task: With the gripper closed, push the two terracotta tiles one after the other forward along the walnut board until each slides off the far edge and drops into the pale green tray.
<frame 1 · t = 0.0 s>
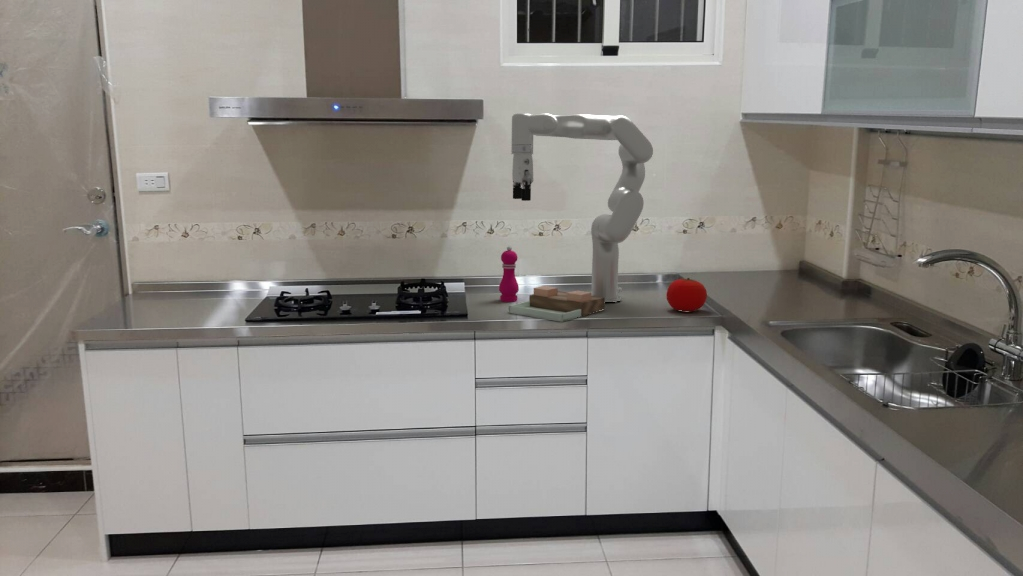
hand: (521, 199, 279), 37 cm above the worktop, tool pointing down, fingers open, 9 cm apart
board: (566, 309, 278), on the worktop
tray: (544, 314, 268), on the worktop
tile 2: (578, 300, 271), point 4 cm above the worktop, touching board
tile 1: (545, 295, 279), point 4 cm above the worktop, touching board
tomato: (685, 311, 277), on the worktop
pepper mill: (508, 301, 293), on the worktop
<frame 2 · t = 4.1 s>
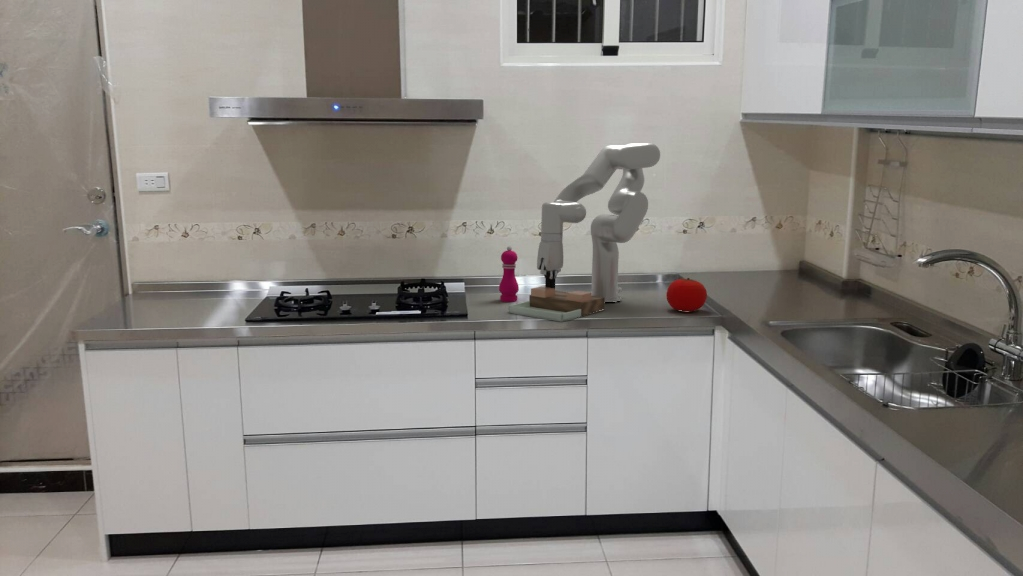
hand: (550, 289, 281), 6 cm above the worktop, tool pointing down, fingers closed
tile 1: (542, 295, 278), point 4 cm above the worktop, touching board, gripper
everything else where it was.
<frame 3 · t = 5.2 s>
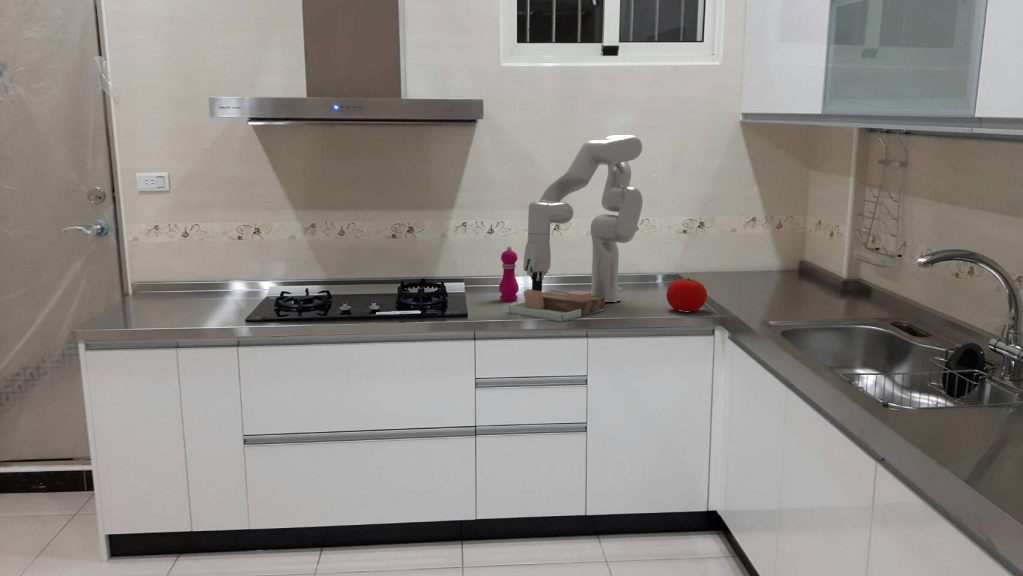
hand: (536, 291, 275), 6 cm above the worktop, tool pointing down, fingers closed
tile 1: (536, 297, 275), point 4 cm above the worktop, tilted 109°, touching tray
everything else where it was.
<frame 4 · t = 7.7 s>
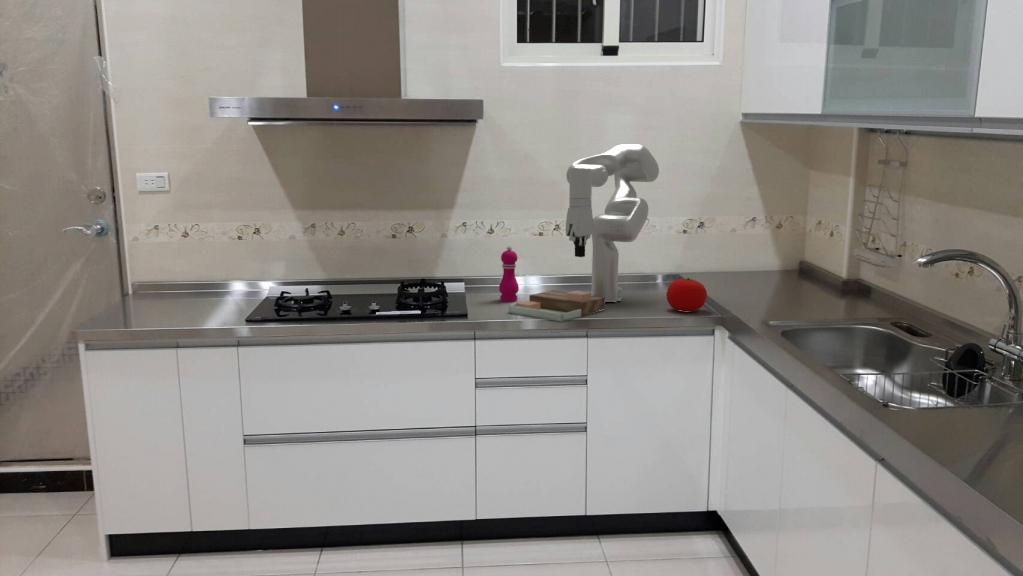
hand: (579, 256, 274), 19 cm above the worktop, tool pointing down, fingers closed
tile 1: (528, 302, 272), point 3 cm above the worktop, tilted 180°, touching tray
everything else where it was.
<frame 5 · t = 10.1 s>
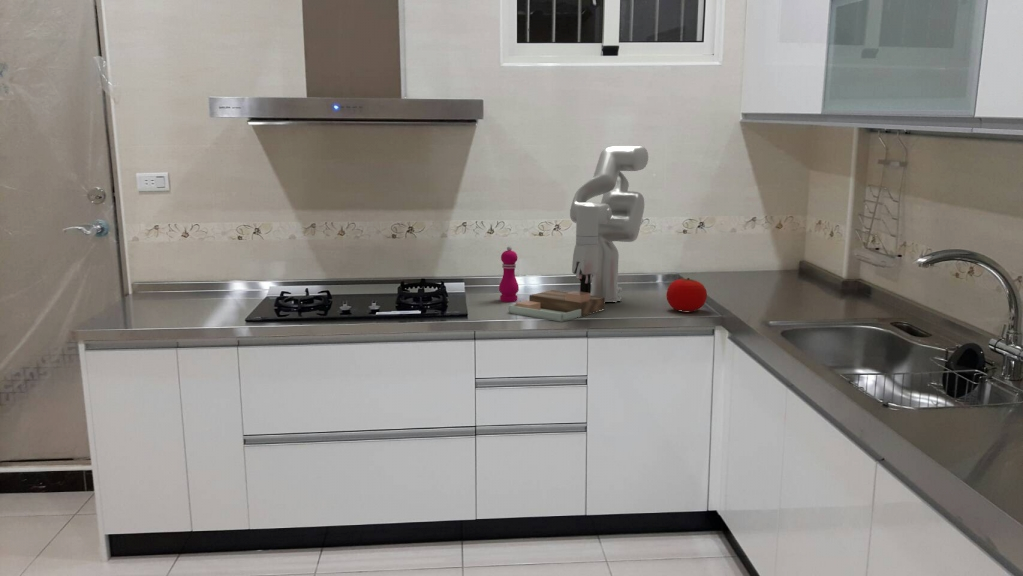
hand: (585, 294, 273), 6 cm above the worktop, tool pointing down, fingers closed
tile 2: (577, 300, 270), point 4 cm above the worktop, touching board, gripper
everything else where it was.
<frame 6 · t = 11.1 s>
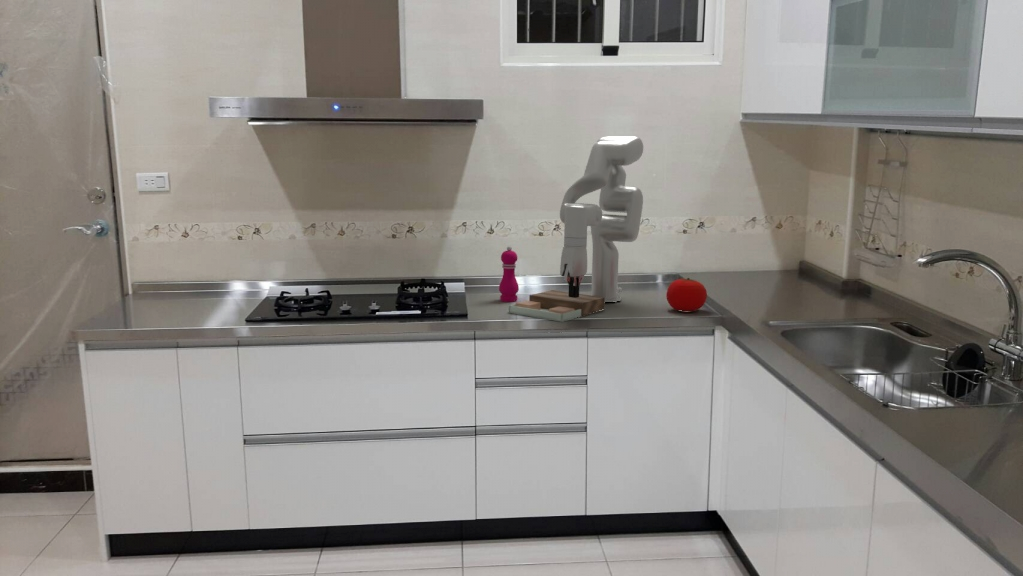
hand: (573, 296, 268), 6 cm above the worktop, tool pointing down, fingers closed
tile 2: (561, 308, 263), point 3 cm above the worktop, tilted 180°, touching tray
everything else where it was.
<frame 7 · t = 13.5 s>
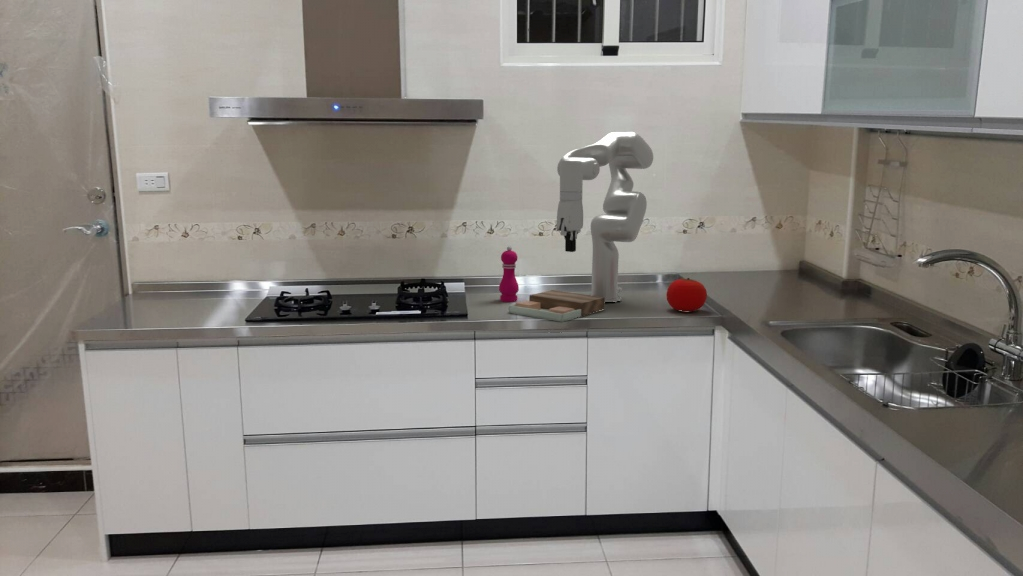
hand: (570, 251, 269), 21 cm above the worktop, tool pointing down, fingers closed
nothing on the worktop moved.
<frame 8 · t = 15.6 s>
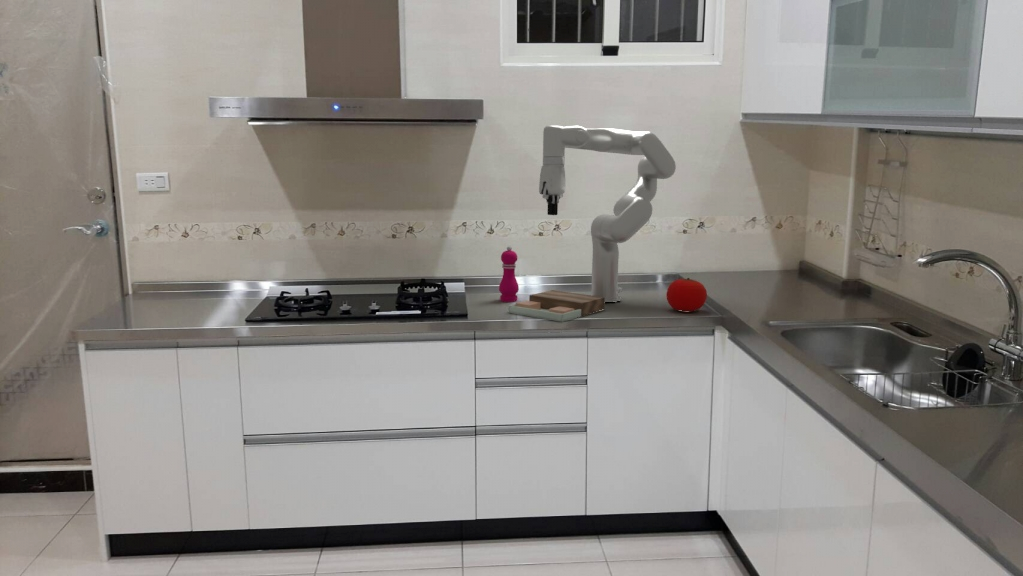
hand: (552, 214, 281), 32 cm above the worktop, tool pointing down, fingers closed
nothing on the worktop moved.
at the end: tile 1 inside the target area on the tray (7.1 cm from its centre), point 3.1 cm above the tray's base; tile 2 inside the target area on the tray (7.3 cm from its centre), point 3.1 cm above the tray's base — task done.
